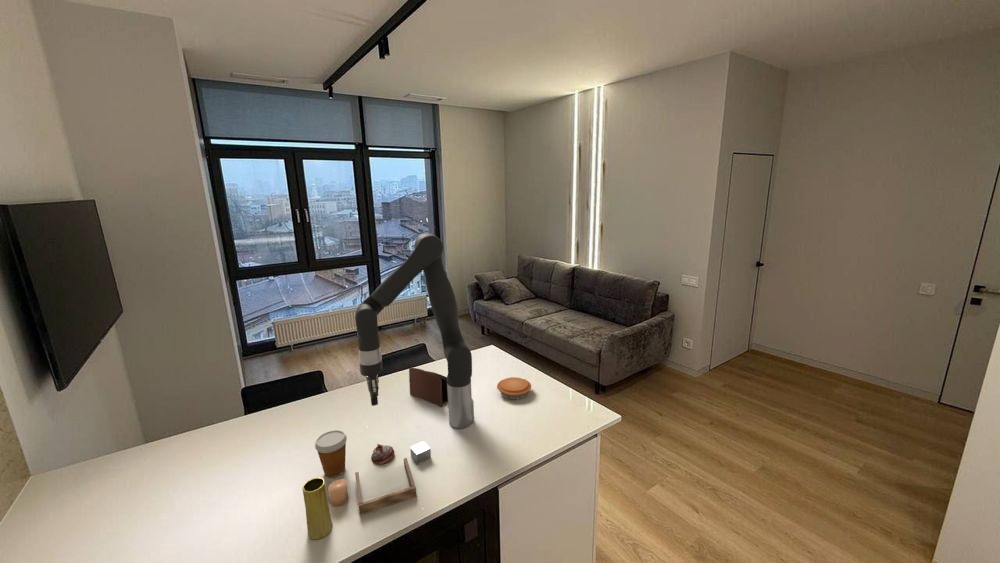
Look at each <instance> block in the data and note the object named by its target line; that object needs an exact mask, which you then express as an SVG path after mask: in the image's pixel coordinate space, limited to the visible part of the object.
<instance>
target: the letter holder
mask: <svg viewBox="0 0 1000 563" xmlns="http://www.w3.org/2000/svg"><path fill="white" fill-rule="evenodd" d="M408 375H409V376H408V378H409V379H408V380H409V395H411V396H414V397H416V398H418V399H420V400H423V401H426V402H428V403H430V404H433V405H435V406H437V407H440V408H443V407H444V406H446V405H448V392H447V376H445V375H443V374H439V373H437V372H433V371H428V370H423V369H420V368H417V367H409V369H408Z"/></svg>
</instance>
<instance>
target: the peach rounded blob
mask: <svg viewBox="0 0 1000 563" xmlns="http://www.w3.org/2000/svg"><path fill="white" fill-rule="evenodd" d="M328 495H329V496H328V497H329V503H330V506H332V507H335V508H337V507H341V506H344V505H345V504H346V503H347V502H348V500H349V490H348V483H347V480H346V479H344V478H343V479H342V478H341V479H336V480H334V481H332V482H331V483H330V484H329V485H328Z"/></svg>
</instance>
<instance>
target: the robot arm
mask: <svg viewBox="0 0 1000 563" xmlns="http://www.w3.org/2000/svg"><path fill="white" fill-rule="evenodd" d="M413 248H414V250H413V251H412V253H411V254H410V255H409V256H408V258H407V259H406V260H405V261H404V262H403V263H402V264H401V265H400V266H399V267H397V268H396V269H395V270H394V271H393V272H391V273H390V274H389V275H388V276H387V277H386V278H385V279H384V280H382V282H381V283H380V284H379V285H378V286H377V288H375V290H374V291H373V292H372V293H371V294H370V295H369V296H367V298H366V299H364V300H363V301H362V302H361V303H360V304H359V305H358V307H357V308H356V311H355V316H354V320H355V327H356V333H357V342H358V345H357V346H358V362H359V364H358V365H359V372H360V373H359V374H360V375H361V376H362V377H365V379H366V380H365V381H366V385H367V390H368V392H369V396H370V404H371V406H372V407H374V406H378V405H379V400H378V397H379V389H380V388H379V383H380V382H379V381H380V379H379V376H378V375H380V374H381V373H382V372H383V371H384V370H383V358H382V351H381V350H382V349H381V343H380V342H381V341H380V335H379V331H378V330H379V328H378V315H379V314H380V313H381V312H382V310H384V309H385V308H386V307H389V306H390V305H391V304H392V303H393V302H394V301H395V300H396V299H397V298H398V296H400V294H401V293H403V291H404V290H405V289H406V288H407V286H408V285H410V283H411V282H412V281H413V280H414V279H415V278H416V277H417V276H419V275H420V274H421V273H422V271H423V273H424V279H425V285H426V289H427V290H426V291H427V296H428V300H429V303H430V307H431V311H432V313H433V317H434V319H435V322H436V325H437V326H438V329H439V333H440V336H441V341H442V348H443V354H444V357H445V360H446V363H447V375H446V377H447V392H448V403H447V408H448V423H449V426H450V427H452V428H455V429H465V428H467V427H470V426H471V425H472V424H474V423H475V410H474V409H475V406H474V405H475V404H474V403H475V401H474V399H473V398H472V397H473V396H472V376H473V357H472V352H471V350H470V348H469V347H468V345H467V344H466V342H465V340H464V338H463V335H462V331H461V329H460V326H459V310H458V303H457V300H456V295H455V292H454V289H453V287H452V284H451V281H450V280H449V277H448V275H447V274H446V270H445V269H444V268H445V267H444V264H443V260H442V259H443V258H442V255H443V252H444V244H443V242H442V240H441V239H440V237H438V236H437V235H435V234H433V233H429V232H425V233H424V232H423V233H421V234H419V235H418V236H417V237H416V239H415V242H414V247H413Z"/></svg>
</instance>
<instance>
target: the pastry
mask: <svg viewBox="0 0 1000 563" xmlns="http://www.w3.org/2000/svg"><path fill="white" fill-rule="evenodd" d="M376 445H377V446H376V447H375V448H374V449H373V450H372V454H371V458H370V459H371V462H372V463H373V464H375V465H376V466H377V465H378V466H380V465H386V464H389V463H390V462H391V461H392V460H393V458H394V456H395V450H394V448H393V446H391V445H385V444H380V443H377V444H376Z"/></svg>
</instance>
